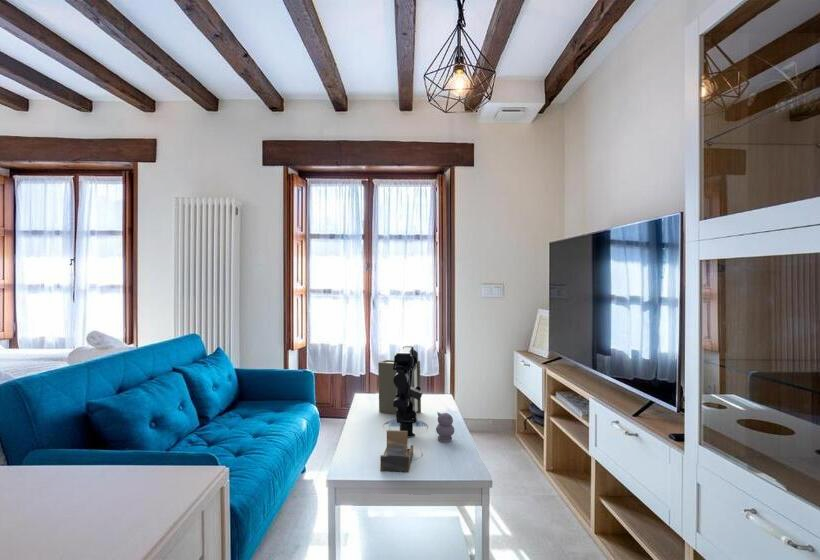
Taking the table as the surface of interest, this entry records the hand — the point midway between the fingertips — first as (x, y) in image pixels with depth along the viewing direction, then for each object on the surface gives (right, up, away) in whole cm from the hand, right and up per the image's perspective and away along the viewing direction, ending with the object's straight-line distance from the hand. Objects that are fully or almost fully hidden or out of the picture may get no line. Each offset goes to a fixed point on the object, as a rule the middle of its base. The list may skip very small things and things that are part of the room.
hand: (403, 417), depth 178 cm
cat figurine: (+19, -12, +6) cm, 23 cm away
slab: (-2, -9, -21) cm, 23 cm away
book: (-3, -12, +46) cm, 47 cm away
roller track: (-2, -12, -17) cm, 21 cm away
